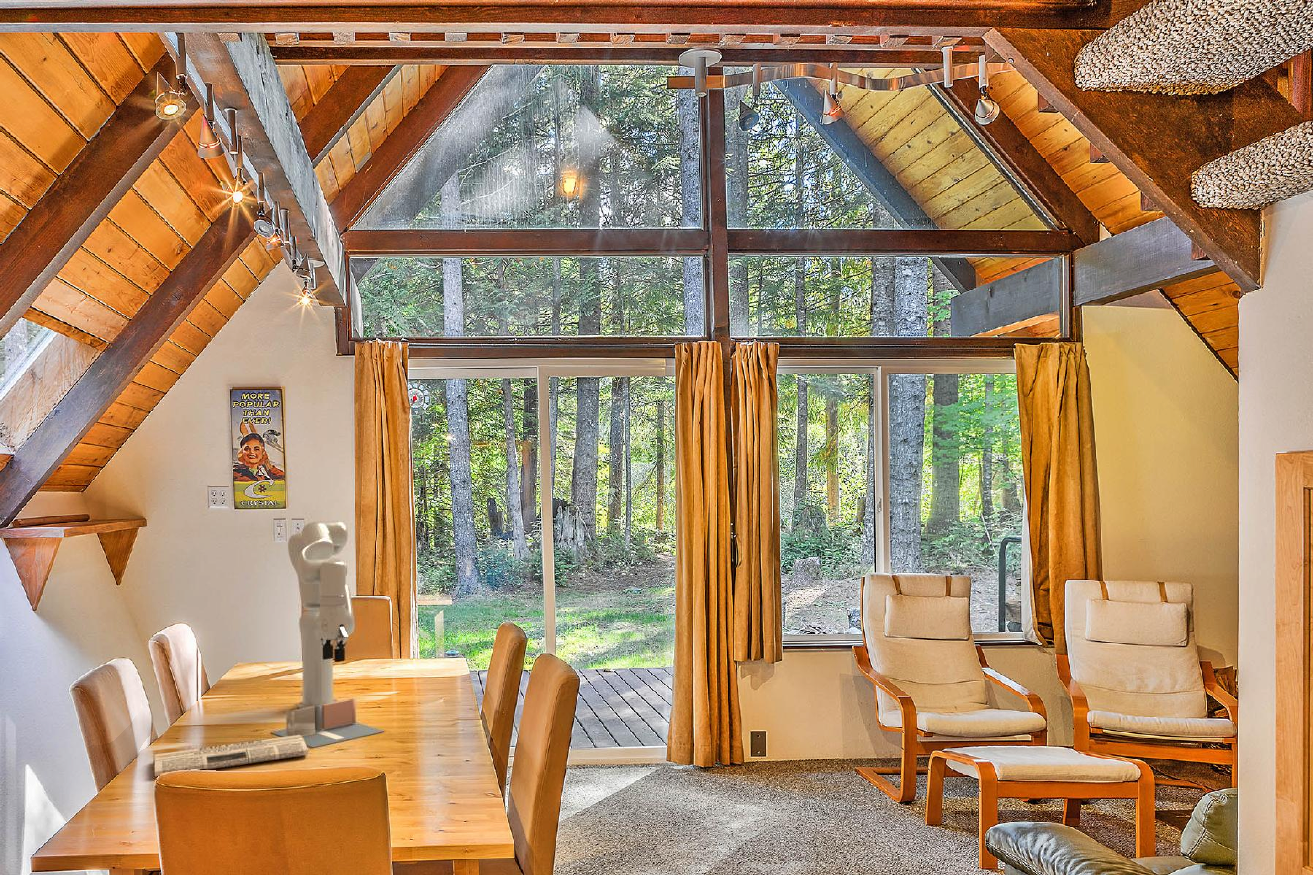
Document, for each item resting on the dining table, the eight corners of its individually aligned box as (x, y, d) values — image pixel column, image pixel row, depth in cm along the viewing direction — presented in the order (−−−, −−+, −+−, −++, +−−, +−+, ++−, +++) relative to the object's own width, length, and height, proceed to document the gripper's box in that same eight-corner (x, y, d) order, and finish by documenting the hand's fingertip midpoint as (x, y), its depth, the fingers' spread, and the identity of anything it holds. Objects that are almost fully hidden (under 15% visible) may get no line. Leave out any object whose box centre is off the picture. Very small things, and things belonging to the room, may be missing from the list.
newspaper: (154, 779, 253) (154, 768, 253) (154, 760, 270) (154, 750, 270) (307, 757, 269) (307, 746, 269) (298, 740, 286) (298, 730, 287)
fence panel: (317, 731, 295) (316, 707, 295) (313, 730, 296) (313, 706, 296) (357, 722, 304) (356, 699, 304) (353, 721, 306) (353, 698, 306)
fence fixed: (286, 737, 290) (285, 711, 290) (312, 732, 296) (311, 706, 296) (289, 738, 289) (289, 712, 289) (315, 733, 294) (315, 707, 295)
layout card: (267, 733, 296) (267, 732, 296) (340, 718, 313) (340, 717, 313) (309, 749, 278) (309, 747, 278) (384, 732, 295) (384, 730, 295)
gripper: (308, 600, 310) (308, 658, 310) (335, 604, 298) (336, 665, 298) (330, 598, 316) (331, 655, 315) (358, 602, 304) (359, 661, 303)
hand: (333, 659), depth 307 cm, fingers open, 6 cm apart
